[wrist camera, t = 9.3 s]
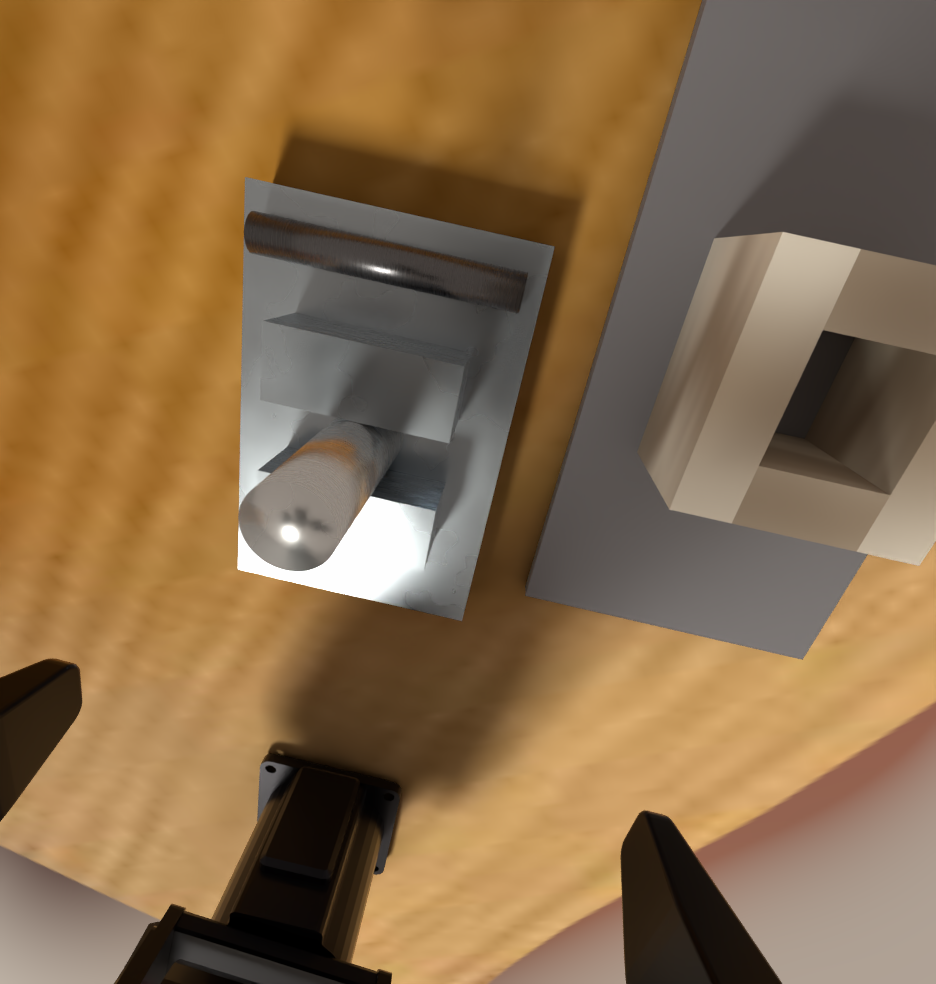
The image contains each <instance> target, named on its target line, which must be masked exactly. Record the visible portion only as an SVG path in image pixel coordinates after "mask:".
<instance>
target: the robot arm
mask: <svg viewBox="0 0 936 984" xmlns="http://www.w3.org/2000/svg"><path fill="white" fill-rule="evenodd" d="M81 706H82V691H81V678H80V669H79V667H78V666H77V665H76V664H74V663H70V662H66V661H62V660H58V659H46V660H43V661H40V662H38V663H35V664H33V665H30V666H28V667H25V668H23V669H20V670H18V671H16V672H13V673H11V674H8V675H6V676H3V677H1V678H0V821H1V820H2V819H3V818H4V816H5V815H6V814H7V812H8V811H9V810H10V809H11V807H12V806H13V805H14V803H15V802H16V801H17V799H18V798H19V797H20V795H21V794H22V792H23V791H24V790H25V788H26V787H27V786H28V784H29V783H30V781H31V780H32V779H33V777H34V776H35V774H36V773H37V772H38V770H39V769H40V768H41V766H42V765H43V763H44V762H45V761H46V759H47V758H48V757H49V755H50V754H51V752H52V751H53V750H54V748H55V747H56V745H57V744H58V743H59V741H60V740H61V739H62V737H63V736H64V734H65V733H66V732H67V730H68V729H69V728H70V726H71V725H72V723H73V722H74V721H75V719H76V718H77V716H78V714H79V712H80V709H81ZM401 792H402V789H401V787H400V786H399V785H398V784H397V783H394V782H391V781H387V780H383V779H378V778H374V777H370V776H366V775H361V774H357V773H353V772H349V771H344V770H340V769H336V768H331V767H327V766H323V765H319V764H314V763H310V762H306V761H302V760H297V759H293V758H289V757H285V756H280V755H276V754H268V755H266V756H265V758H264V759H263V761H262V763H261V766H260V778H259V798H258V819H257V824H256V826H255V828H254V831H253V833H252V835H251V837H250V839H249V841H248V843H247V845H246V847H245V849H244V852H243V854H242V856H241V858H240V860H239V862H238V864H237V866H236V868H235V870H234V873H233V875H232V877H231V879H230V881H229V883H228V885H227V887H226V889H225V891H224V894H223V896H222V898H221V900H220V902H219V904H218V906H217V908H216V910H215V912H214V915H213V917H212V919H209V918H205V917H202V916H199V915H196V914H193V913H190V912H186V911H185V910H186V908H184V907H181V906H178V905H175V904H171V905H170V907H169V909H168V910H167V912H166V913H165V915H164V917H163V918H162V920H161V921H160V922H155V923H150V924H149V925H148V927H147V929H146V930H145V932H144V934H143V936H142V938H141V939H140V941H139V943H138V945H137V946H136V948H135V950H134V952H133V953H132V955H131V957H130V959H129V961H128V962H127V964H126V966H125V967H124V969H123V971H122V972H121V974H120V975H119V977H118V978H117V980H116V981H115V983H114V984H391V979H392V973H390V972H387V971H384V970H381V969H378V970H377V971H374V970H370V969H367V968H364V967H361V966H358V965H355V964H351V962H352V958H353V954H354V950H355V946H356V942H357V938H358V934H359V930H360V926H361V922H362V918H363V914H364V910H365V906H366V902H367V898H368V894H369V890H370V886H371V882H372V878H373V874H376V875H377V874H381V873H383V871H384V867H385V863H386V859H387V854H388V850H389V845H390V841H391V836H392V832H393V828H394V823H395V819H396V814H397V810H398V805H399V801H400V796H401ZM621 882H622V909H623V934H624V935H623V936H624V960H625V976H626V984H782V982H781V981H780V980H779V978H778V976H777V975H776V974H775V972H774V970H773V969H772V968H771V966H770V965H769V963H768V962H767V960H766V959H765V957H764V956H763V954H762V953H761V951H760V950H759V948H758V947H757V945H756V944H755V943H754V941H753V939H752V938H751V937H750V935H749V933H748V932H747V931H746V929H745V928H744V926H743V925H742V923H741V922H740V920H739V919H738V917H737V916H736V914H735V913H734V911H733V910H732V908H731V907H730V905H729V904H728V902H727V901H726V900H725V898H724V897H723V895H722V894H721V892H720V891H719V889H718V888H717V886H716V885H715V883H714V882H713V880H712V879H711V877H710V876H709V875H708V873H707V871H706V870H705V869H704V867H703V866H702V864H701V863H700V861H699V860H698V858H697V857H696V855H695V854H694V852H693V851H692V849H691V848H690V846H689V845H688V843H687V842H686V840H685V839H684V837H683V836H682V834H681V833H680V832H679V830H678V829H677V827H676V826H675V824H674V823H673V821H672V820H671V819H670V818H669V817H667V816H665V815H662V814H658V813H654V812H650V811H645V810H644V811H642V812H640V813H639V815H638V816H637V818H636V820H635V822H634V823H633V825H632V827H631V829H630V830H629V832H628V834H627V836H626V837H625V839H624V841H623V844H622V849H621Z"/></svg>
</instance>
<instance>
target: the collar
mask: <svg viewBox="0 0 936 984" xmlns="http://www.w3.org/2000/svg"><path fill="white" fill-rule="evenodd" d="M823 330H825V331H830V332H834V333H839V334H843V335H848V336H852V337H855V339H854V341H853V343H852V345H851V347H850V349H849V351H848V353H847V355H846V357H845V359H844V361H843V363H842V365H841V367H840V369H839V371H838V373H837V375H836V377H835V379H834V381H833V383H832V385H831V387H830V389H829V391H828V393H827V395H826V397H825V399H824V401H823V403H822V405H821V407H820V409H819V411H818V413H817V415H816V417H815V419H814V421H813V423H812V425H811V427H810V429H809V431H808V433H807V435H806V437H805V439H803V438H798V437H794V436H789V435H785V434H780V433H776V432H775V430H776V428H777V426H778V424H779V422H780V420H781V418H782V416H783V413H784V411H785V409H786V407H787V405H788V403H789V401H790V399H791V397H792V394H793V392H794V390H795V388H796V386H797V384H798V382H799V380H800V377H801V375H802V373H803V371H804V369H805V367H806V365H807V363H808V360H809V358H810V356H811V354H812V352H813V350H814V348H815V346H816V344H817V341H818V339H819V337H820V335H821V333H822V331H823ZM637 453H638V455H639V456H640V458H641V460H642V462H643V464H644V465H645V467H646V469H647V471H648V472H649V474H650V476H651V478H652V480H653V481H654V483H655V485H656V487H657V488H658V490H659V492H660V494H661V496H662V497H663V499H664V501H665V503H666V504H667V506H668V508H669V510H674V511H678V512H683V513H687V514H692V515H696V516H700V517H705V518H709V519H714V520H718V521H723V522H727V523H731V524H736V525H740V526H745V527H749V528H754V529H758V530H762V531H767V532H771V533H776V534H780V535H785V536H789V537H793V538H798V539H802V540H807V541H811V542H816V543H820V544H824V545H829V546H833V547H838V548H842V549H847V550H851V551H856V552H860V553H864V554H869V555H873V556H878V557H882V558H887V559H891V560H895V561H900V562H904V563H909V564H913V565H918V566H919V565H920V564H921V562H922V561H923V559H924V558H925V556H926V555H927V553H928V552H929V550H930V549H931V547H932V546H933V544H934V543H935V542H936V265H932V264H927V263H922V262H918V261H913V260H909V259H904V258H900V257H895V256H891V255H886V254H881V253H877V252H872V251H868V250H863V249H859V248H854V247H850V246H845V245H840V244H836V243H831V242H827V241H822V240H818V239H813V238H809V237H804V236H799V235H795V234H790V233H786V232H776V233H766V234H755V235H744V236H734V237H723V238H714V240H713V243H712V246H711V249H710V252H709V254H708V257H707V260H706V263H705V265H704V268H703V271H702V274H701V277H700V279H699V282H698V285H697V288H696V290H695V293H694V296H693V299H692V301H691V304H690V307H689V310H688V313H687V315H686V318H685V321H684V324H683V326H682V329H681V332H680V335H679V338H678V340H677V343H676V346H675V349H674V351H673V354H672V357H671V360H670V362H669V365H668V368H667V371H666V374H665V376H664V379H663V382H662V385H661V387H660V390H659V393H658V396H657V399H656V401H655V404H654V407H653V410H652V412H651V415H650V418H649V421H648V424H647V426H646V429H645V432H644V435H643V437H642V440H641V443H640V446H639V448H638V451H637Z"/></svg>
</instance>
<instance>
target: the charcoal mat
mask: <svg viewBox="0 0 936 984" xmlns="http://www.w3.org/2000/svg"><path fill="white" fill-rule="evenodd" d="M776 232H786V233H790V234H795V235H799V236H804V237H809V238H813V239H818V240H822V241H827V242H831V243H836V244H840V245H845V246H850V247H854V248H859V249H863V250H868V251H872V252H877V253H881V254H886V255H891V256H895V257H900V258H904V259H909V260H913V261H918V262H922V263H927V264H932V265H936V0H702V3H701V6H700V9H699V13H698V16H697V19H696V23H695V26H694V29H693V33H692V36H691V39H690V43H689V46H688V49H687V53H686V56H685V59H684V62H683V66H682V69H681V72H680V76H679V79H678V82H677V86H676V89H675V92H674V96H673V99H672V102H671V106H670V109H669V112H668V115H667V119H666V122H665V125H664V129H663V132H662V135H661V139H660V142H659V145H658V149H657V152H656V155H655V159H654V162H653V165H652V168H651V172H650V175H649V178H648V182H647V185H646V188H645V192H644V195H643V198H642V202H641V205H640V208H639V212H638V215H637V218H636V221H635V225H634V228H633V231H632V235H631V238H630V241H629V245H628V248H627V251H626V255H625V258H624V261H623V265H622V268H621V271H620V274H619V278H618V281H617V284H616V288H615V291H614V294H613V298H612V301H611V304H610V308H609V311H608V314H607V318H606V321H605V324H604V327H603V331H602V334H601V337H600V341H599V344H598V347H597V351H596V354H595V357H594V361H593V364H592V367H591V371H590V374H589V377H588V380H587V384H586V387H585V390H584V394H583V397H582V400H581V404H580V407H579V410H578V414H577V417H576V420H575V424H574V427H573V430H572V433H571V437H570V440H569V443H568V447H567V450H566V453H565V457H564V460H563V463H562V467H561V470H560V473H559V477H558V480H557V483H556V486H555V490H554V493H553V496H552V500H551V503H550V506H549V510H548V513H547V516H546V520H545V523H544V526H543V530H542V533H541V536H540V539H539V543H538V546H537V549H536V553H535V556H534V559H533V563H532V566H531V569H530V573H529V576H528V579H527V583H526V586H525V596H529V597H533V598H538V599H542V600H546V601H551V602H555V603H559V604H564V605H568V606H572V607H577V608H581V609H585V610H590V611H594V612H598V613H603V614H607V615H611V616H616V617H620V618H624V619H629V620H633V621H637V622H642V623H646V624H650V625H655V626H659V627H663V628H668V629H672V630H676V631H681V632H685V633H689V634H694V635H698V636H702V637H707V638H711V639H715V640H720V641H724V642H729V643H733V644H737V645H742V646H746V647H750V648H755V649H759V650H763V651H768V652H772V653H776V654H781V655H785V656H789V657H794V658H798V659H802V660H803V658H804V656H805V655H806V653H807V652H808V650H809V648H810V647H811V645H812V644H813V642H814V640H815V639H816V637H817V635H818V634H819V632H820V631H821V629H822V627H823V626H824V624H825V623H826V621H827V619H828V618H829V616H830V614H831V613H832V611H833V610H834V608H835V606H836V605H837V603H838V602H839V600H840V598H841V597H842V595H843V593H844V592H845V590H846V589H847V587H848V585H849V584H850V582H851V581H852V579H853V577H854V576H855V574H856V573H857V571H858V569H859V568H860V566H861V564H862V563H863V561H864V560H865V558H866V556H867V555H868V554H864V553H860V552H856V551H851V550H847V549H842V548H838V547H833V546H829V545H824V544H820V543H816V542H811V541H807V540H802V539H798V538H793V537H789V536H785V535H780V534H776V533H771V532H767V531H762V530H758V529H754V528H749V527H745V526H740V525H736V524H731V523H727V522H723V521H718V520H714V519H709V518H705V517H700V516H696V515H692V514H687V513H683V512H678V511H674V510H669V508H668V506H667V504H666V503H665V501H664V499H663V497H662V496H661V494H660V492H659V490H658V488H657V487H656V485H655V483H654V481H653V480H652V478H651V476H650V474H649V472H648V471H647V469H646V467H645V465H644V464H643V462H642V460H641V458H640V456H639V455H638V453H637V451H638V448H639V446H640V443H641V440H642V437H643V435H644V432H645V429H646V426H647V424H648V421H649V418H650V415H651V412H652V410H653V407H654V404H655V401H656V399H657V396H658V393H659V390H660V387H661V385H662V382H663V379H664V376H665V374H666V371H667V368H668V365H669V362H670V360H671V357H672V354H673V351H674V349H675V346H676V343H677V340H678V338H679V335H680V332H681V329H682V326H683V324H684V321H685V318H686V315H687V313H688V310H689V307H690V304H691V301H692V299H693V296H694V293H695V290H696V288H697V285H698V282H699V279H700V277H701V274H702V271H703V268H704V265H705V263H706V260H707V257H708V254H709V252H710V249H711V246H712V243H713V240H714V238H723V237H734V236H744V235H755V234H766V233H776ZM854 339H855V337H852V336H848V335H843V334H839V333H834V332H830V331H825V330H823V331H822V333H821V335H820V337H819V339H818V341H817V344H816V346H815V348H814V350H813V352H812V354H811V356H810V358H809V360H808V363H807V365H806V367H805V369H804V371H803V373H802V375H801V377H800V380H799V382H798V384H797V386H796V388H795V390H794V392H793V394H792V397H791V399H790V401H789V403H788V405H787V407H786V409H785V411H784V413H783V416H782V418H781V420H780V422H779V424H778V426H777V428H776V430H775V432H776V433H780V434H785V435H789V436H794V437H798V438H803V439H805V437H806V435H807V433H808V431H809V429H810V427H811V425H812V423H813V421H814V419H815V417H816V415H817V413H818V411H819V409H820V407H821V405H822V403H823V401H824V399H825V397H826V395H827V393H828V391H829V389H830V387H831V385H832V383H833V381H834V379H835V377H836V375H837V373H838V371H839V369H840V367H841V365H842V363H843V361H844V359H845V357H846V355H847V353H848V351H849V349H850V347H851V345H852V343H853V341H854Z"/></svg>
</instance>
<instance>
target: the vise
mask: <svg viewBox="0 0 936 984" xmlns="http://www.w3.org/2000/svg"><path fill="white" fill-rule="evenodd" d="M554 248H555V247H554V246H550V245H545V244H541V243H536V242H532V241H528V240H523V239H519V238H514V237H510V236H505V235H501V234H496V233H492V232H487V231H483V230H479V229H474V228H470V227H465V226H461V225H456V224H452V223H447V222H443V221H438V220H434V219H429V218H425V217H421V216H416V215H412V214H407V213H403V212H398V211H394V210H389V209H385V208H380V207H376V206H372V205H367V204H363V203H358V202H354V201H349V200H345V199H340V198H336V197H331V196H327V195H322V194H318V193H314V192H309V191H305V190H300V189H296V188H291V187H287V186H282V185H278V184H273V183H269V182H265V181H260V180H256V179H251V178H247V177H245V212H244V266H243V320H242V374H241V428H240V481H239V516H238V518H239V535H238V569H239V570H243V571H248V572H252V573H256V574H261V575H265V576H269V577H273V578H278V579H282V580H286V581H291V582H295V583H299V584H304V585H308V586H312V587H317V588H321V589H325V590H330V591H334V592H338V593H343V594H347V595H351V596H356V597H360V598H364V599H369V600H373V601H377V602H382V603H386V604H390V605H395V606H399V607H403V608H408V609H412V610H416V611H421V612H425V613H429V614H433V615H438V616H442V617H446V618H451V619H455V620H459V621H462V619H463V615H464V611H465V607H466V603H467V599H468V595H469V591H470V587H471V583H472V579H473V575H474V571H475V567H476V563H477V558H478V554H479V550H480V546H481V542H482V538H483V534H484V530H485V526H486V522H487V518H488V514H489V510H490V506H491V502H492V498H493V494H494V490H495V486H496V482H497V478H498V474H499V470H500V466H501V462H502V458H503V454H504V450H505V446H506V442H507V437H508V433H509V429H510V425H511V421H512V417H513V413H514V409H515V405H516V401H517V397H518V393H519V389H520V385H521V381H522V377H523V373H524V369H525V365H526V361H527V357H528V353H529V349H530V345H531V341H532V337H533V333H534V329H535V325H536V321H537V317H538V312H539V308H540V304H541V300H542V296H543V292H544V288H545V284H546V280H547V276H548V272H549V268H550V264H551V260H552V256H553V252H554Z"/></svg>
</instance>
